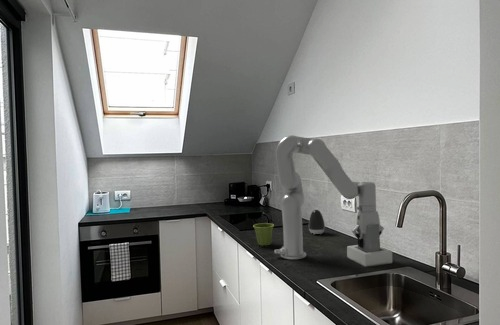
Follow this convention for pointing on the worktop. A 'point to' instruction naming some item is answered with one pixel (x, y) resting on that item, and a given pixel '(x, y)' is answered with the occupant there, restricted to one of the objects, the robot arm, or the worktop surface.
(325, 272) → the worktop surface
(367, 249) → the skincare box
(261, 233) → the plant pot
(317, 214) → the black rounded dome
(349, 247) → the box
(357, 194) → the robot arm
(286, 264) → the worktop surface
